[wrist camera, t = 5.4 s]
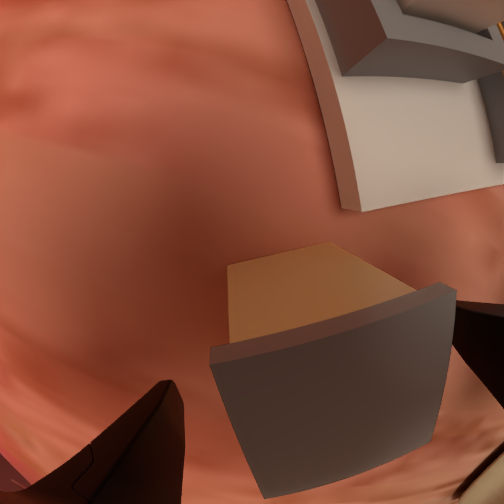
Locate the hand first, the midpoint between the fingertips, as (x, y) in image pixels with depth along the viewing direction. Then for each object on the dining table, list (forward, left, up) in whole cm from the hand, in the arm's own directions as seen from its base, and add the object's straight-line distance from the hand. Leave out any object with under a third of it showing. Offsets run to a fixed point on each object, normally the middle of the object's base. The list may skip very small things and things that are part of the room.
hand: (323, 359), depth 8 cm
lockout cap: (0, 0, -5) cm, 5 cm away
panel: (+13, -11, -5) cm, 18 cm away
